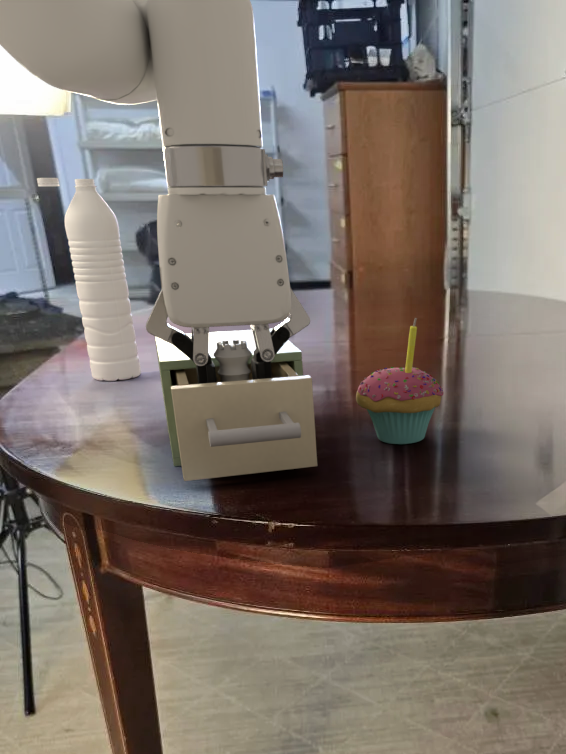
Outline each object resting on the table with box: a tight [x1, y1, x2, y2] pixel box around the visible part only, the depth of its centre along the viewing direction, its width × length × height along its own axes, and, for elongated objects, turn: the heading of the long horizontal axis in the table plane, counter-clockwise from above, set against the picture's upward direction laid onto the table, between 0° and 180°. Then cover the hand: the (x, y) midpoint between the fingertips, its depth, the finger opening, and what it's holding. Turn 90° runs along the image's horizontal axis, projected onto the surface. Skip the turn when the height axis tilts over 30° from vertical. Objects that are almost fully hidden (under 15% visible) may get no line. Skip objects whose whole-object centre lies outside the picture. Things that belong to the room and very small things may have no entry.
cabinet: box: [154, 327, 304, 467], centre depth 77 cm, size 15×13×10 cm
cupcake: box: [355, 317, 444, 445], centre depth 76 cm, size 9×8×12 cm
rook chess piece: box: [213, 340, 252, 382], centre depth 67 cm, size 4×4×8 cm
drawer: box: [171, 362, 318, 482], centre depth 68 cm, size 19×11×8 cm, turn 18°
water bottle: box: [36, 177, 142, 382], centre depth 102 cm, size 9×6×25 cm
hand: (237, 404), depth 67 cm, fingers closed on rook chess piece, 3 cm apart
